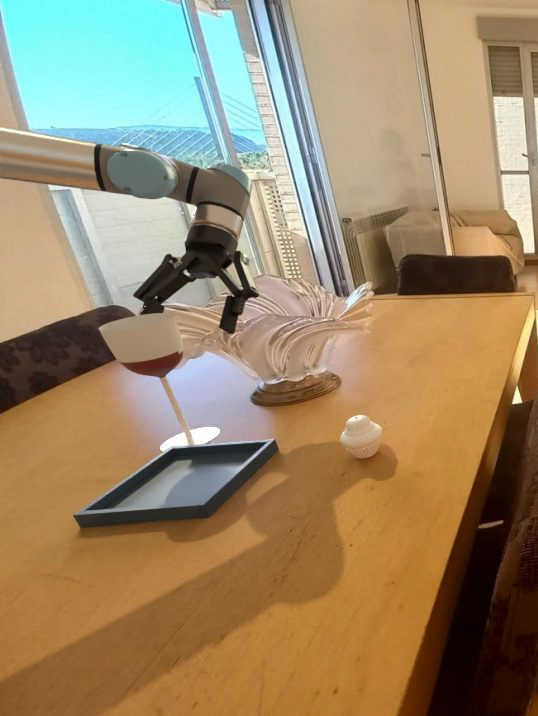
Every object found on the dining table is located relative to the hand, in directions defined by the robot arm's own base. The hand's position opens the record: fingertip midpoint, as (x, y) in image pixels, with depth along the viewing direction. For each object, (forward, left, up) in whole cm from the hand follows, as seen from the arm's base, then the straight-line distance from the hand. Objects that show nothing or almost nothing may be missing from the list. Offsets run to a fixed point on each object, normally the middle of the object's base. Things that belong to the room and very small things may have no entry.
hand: (186, 333), depth 85 cm
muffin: (+34, -17, -17) cm, 42 cm away
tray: (+10, -22, -17) cm, 30 cm away
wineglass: (0, -8, -17) cm, 19 cm away
